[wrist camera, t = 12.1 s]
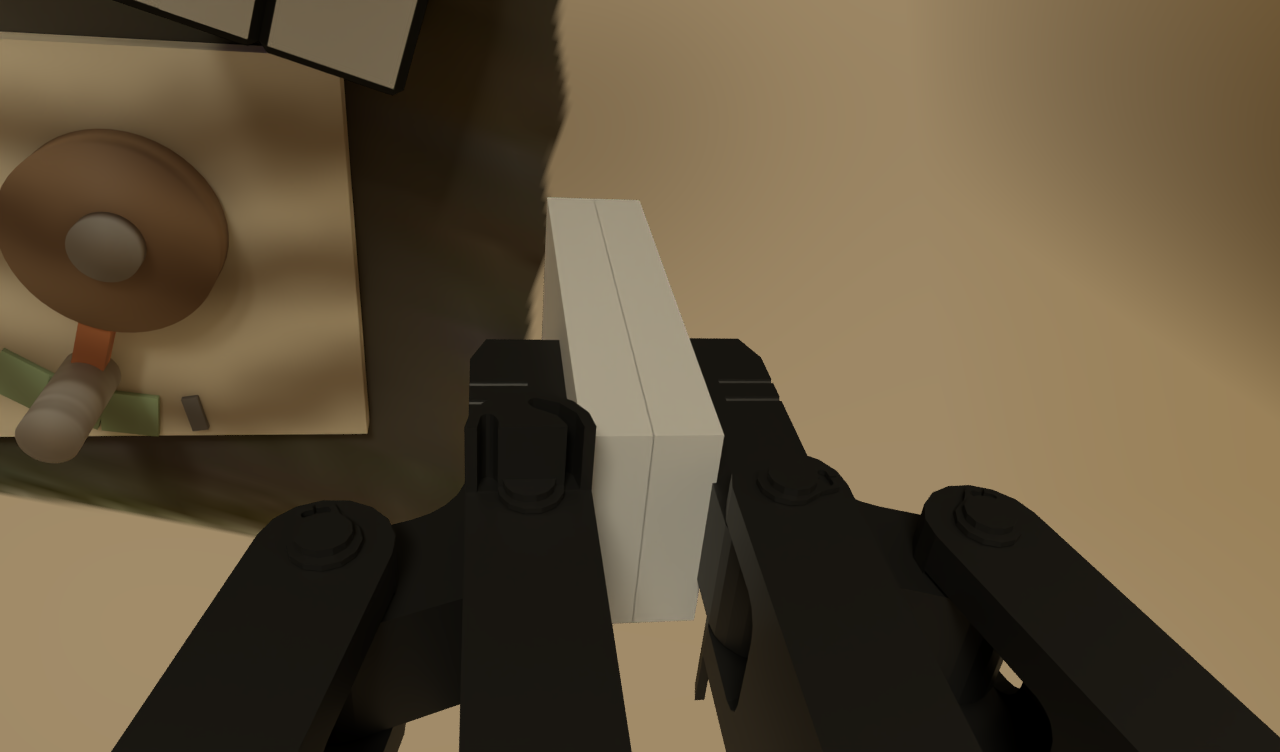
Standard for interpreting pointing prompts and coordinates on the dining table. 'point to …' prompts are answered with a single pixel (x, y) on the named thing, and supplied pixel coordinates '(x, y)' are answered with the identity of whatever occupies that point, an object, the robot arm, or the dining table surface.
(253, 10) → the puzzle cube
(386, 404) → the dining table surface
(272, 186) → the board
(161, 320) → the dial
